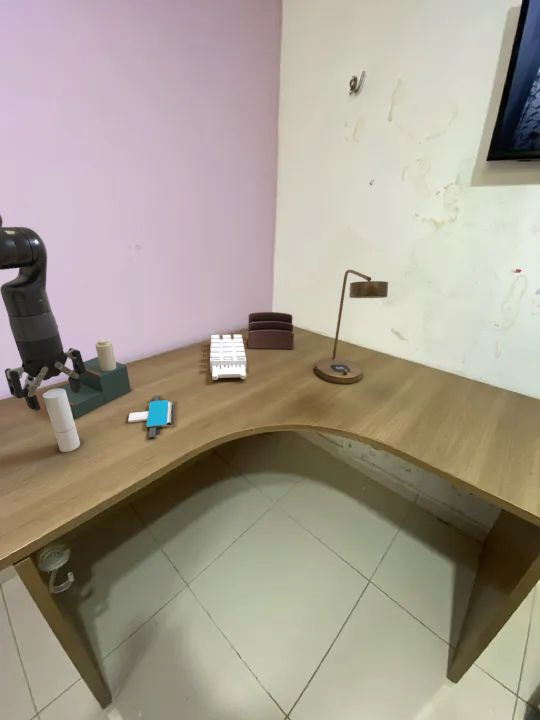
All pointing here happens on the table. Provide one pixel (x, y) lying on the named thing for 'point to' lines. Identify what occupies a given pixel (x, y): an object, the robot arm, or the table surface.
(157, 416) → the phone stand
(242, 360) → the organizer
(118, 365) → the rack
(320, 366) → the lamp
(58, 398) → the tube
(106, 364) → the cream capped cylinder
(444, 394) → the table surface
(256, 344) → the letter holder
